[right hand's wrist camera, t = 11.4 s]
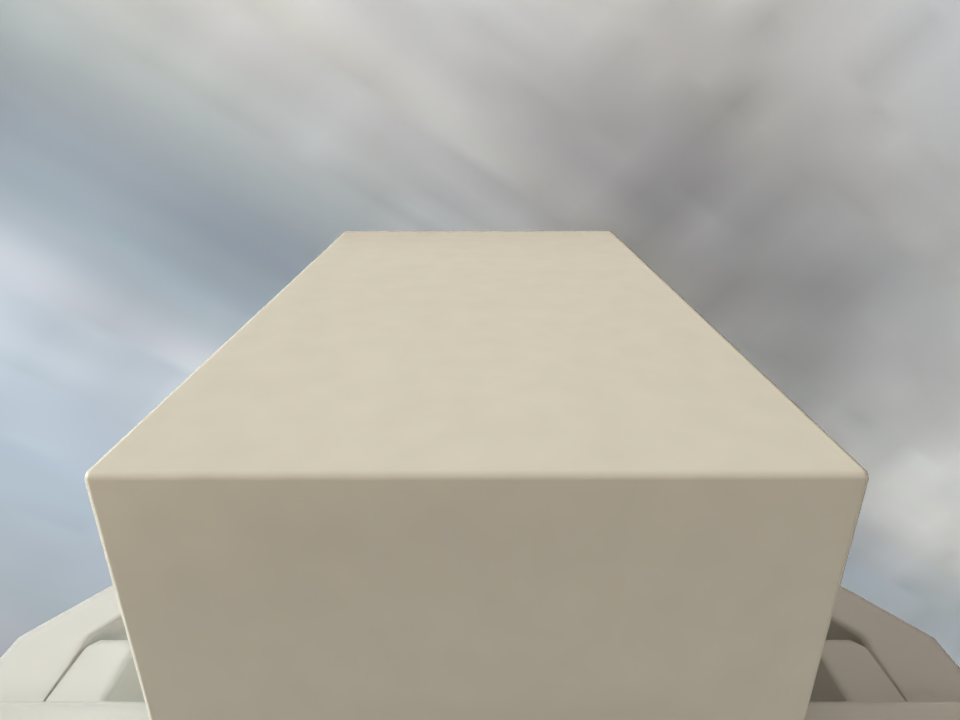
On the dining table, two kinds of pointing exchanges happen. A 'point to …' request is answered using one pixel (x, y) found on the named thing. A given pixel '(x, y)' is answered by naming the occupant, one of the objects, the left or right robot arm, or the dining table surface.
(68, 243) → the dining table surface
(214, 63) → the dining table surface
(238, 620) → the bar
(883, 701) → the right robot arm
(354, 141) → the dining table surface
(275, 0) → the dining table surface
